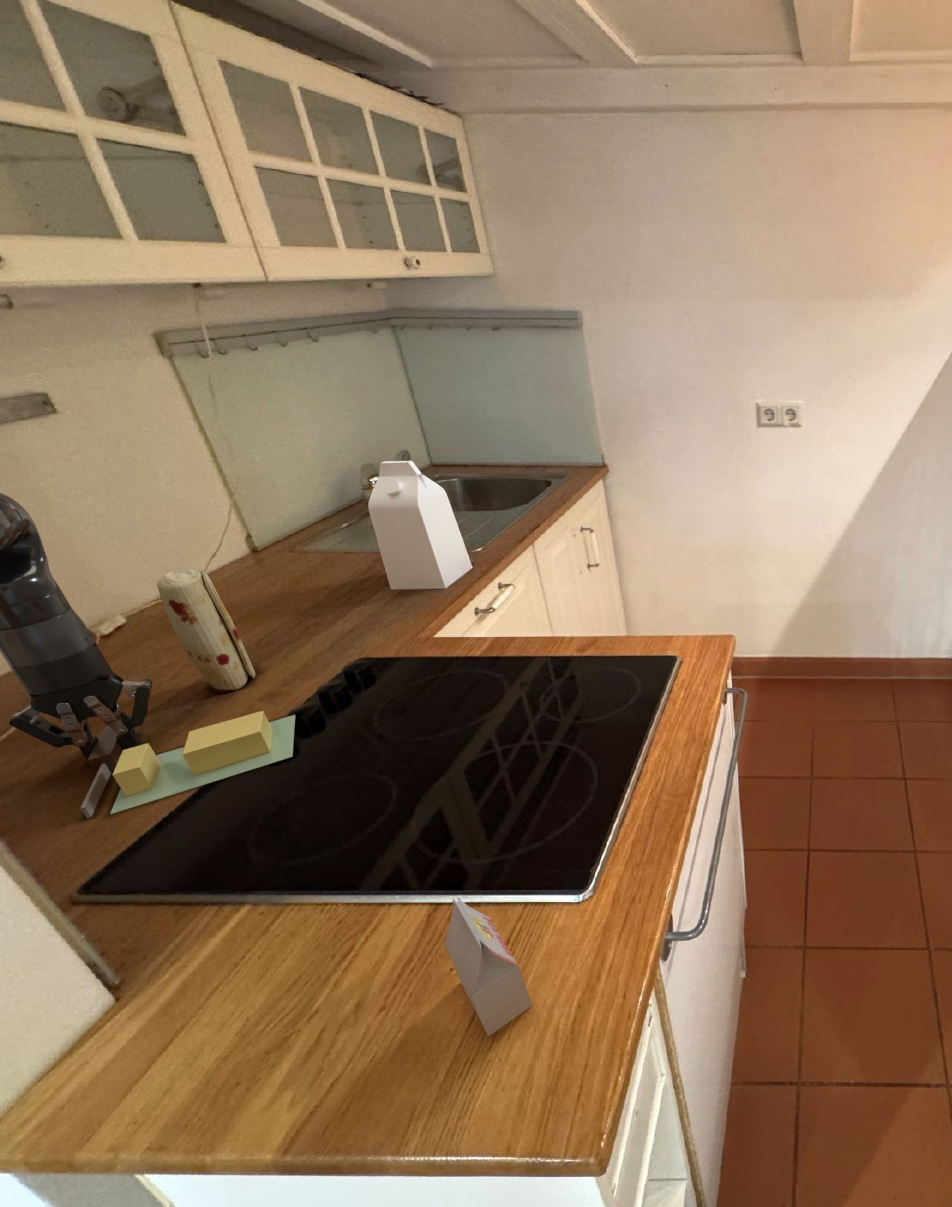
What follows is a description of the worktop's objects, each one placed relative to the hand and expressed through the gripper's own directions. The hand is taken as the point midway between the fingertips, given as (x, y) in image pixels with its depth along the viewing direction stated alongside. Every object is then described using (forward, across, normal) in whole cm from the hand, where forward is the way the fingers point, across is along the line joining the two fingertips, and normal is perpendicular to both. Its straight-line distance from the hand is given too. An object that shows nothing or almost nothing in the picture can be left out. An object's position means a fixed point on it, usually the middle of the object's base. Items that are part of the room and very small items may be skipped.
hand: (119, 757), depth 90 cm
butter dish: (0, +11, -9) cm, 14 cm away
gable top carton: (+1, +36, -67) cm, 76 cm away
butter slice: (-1, +4, -9) cm, 10 cm away
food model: (+1, +11, +16) cm, 19 cm away
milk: (+1, +43, +45) cm, 63 cm away
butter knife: (0, 0, -5) cm, 5 cm away
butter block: (-1, +14, -9) cm, 16 cm away
